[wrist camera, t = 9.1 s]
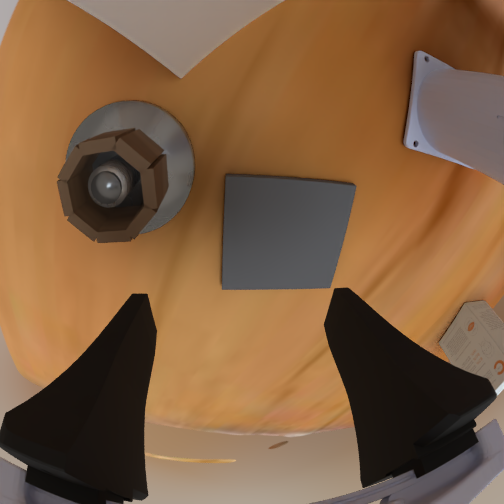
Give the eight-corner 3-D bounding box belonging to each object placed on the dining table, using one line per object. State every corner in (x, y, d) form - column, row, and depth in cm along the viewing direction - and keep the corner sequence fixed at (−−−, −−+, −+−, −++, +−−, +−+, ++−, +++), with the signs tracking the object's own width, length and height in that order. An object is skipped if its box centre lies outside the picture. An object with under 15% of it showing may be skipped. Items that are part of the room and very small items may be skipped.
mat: (353, 183, 19) (356, 186, 18) (327, 283, 23) (330, 288, 23) (225, 173, 17) (225, 176, 17) (222, 284, 22) (222, 289, 22)
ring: (171, 213, 17) (162, 239, 14) (93, 219, 17) (72, 244, 14) (164, 124, 14) (150, 131, 11) (79, 137, 14) (51, 149, 11)
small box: (460, 337, 34) (496, 396, 23) (437, 342, 33) (475, 409, 22) (485, 298, 30) (531, 358, 19) (464, 301, 29) (514, 370, 18)
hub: (197, 97, 15) (189, 96, 11) (195, 228, 19) (189, 261, 16) (68, 109, 13) (33, 118, 10) (81, 228, 18) (57, 259, 15)
